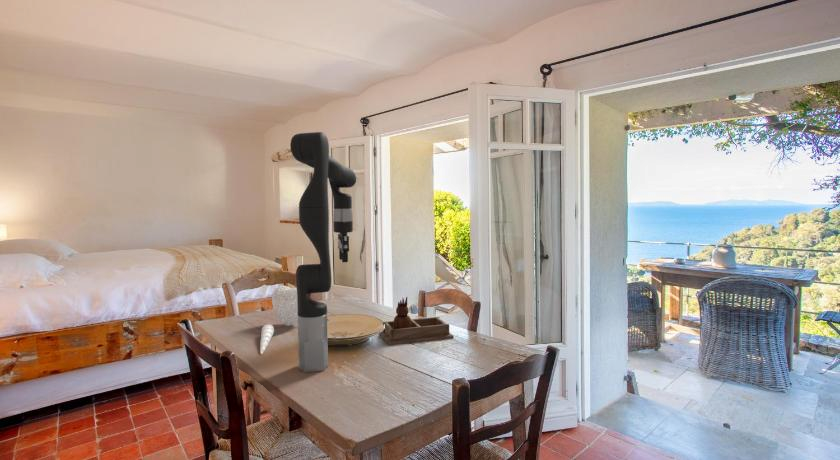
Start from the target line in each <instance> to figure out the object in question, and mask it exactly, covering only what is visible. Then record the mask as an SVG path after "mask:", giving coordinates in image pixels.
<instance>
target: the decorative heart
mask: <svg viewBox="0 0 840 460" xmlns="http://www.w3.org/2000/svg"><path fill="white" fill-rule="evenodd" d="M271 302H272V303H271V304H272V307H273V310H274V313H275V314H276V316H277V318H278V319H279V320H280V325H283V324H284V325H285V326H287V327H290V326H291V327H292V326H293V327H295V323H296V327H297V328H298V301H297V287H289V286H288V285H279V286H277V287H276V288H275V289H274V291H273V293H272V296H271Z"/></svg>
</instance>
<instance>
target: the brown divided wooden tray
mask: <svg viewBox="0 0 840 460" xmlns="http://www.w3.org/2000/svg"><path fill="white" fill-rule="evenodd" d="M410 319H411V328H401V329H394V320H388V321H383V322H382V326H383V325H384V324H385V329H384V330H383V329H382V330H383V331H382V332H381V333H380V332H379V334H380V335H381V337H382V338H383V339H384V341H385V342H386V343H387V345H388V346H394V345H406V344H412V343H413V344H414V343H422V342H433V341H440V340H441V341H442V340H450V339H449V338H451V339H454V338H455V337H454V335H453V334H452V333H451V332H450V323H447V322H445V321H444V320H442V319H441V318H440V317H439V316H434V317H424V318H410Z"/></svg>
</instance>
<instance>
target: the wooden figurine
mask: <svg viewBox="0 0 840 460" xmlns="http://www.w3.org/2000/svg"><path fill="white" fill-rule="evenodd" d="M395 310H396V311H395V312H396V315H395V317H394V319H393V321H394V329H401V328H411V319H412V318H411V317H410V315H409V307H408V296H406V297H405V299H404V297H402V299H401V300H400V301H398V302H397V307H396V309H395Z"/></svg>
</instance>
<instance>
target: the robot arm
mask: <svg viewBox="0 0 840 460" xmlns="http://www.w3.org/2000/svg"><path fill="white" fill-rule="evenodd" d="M289 146H290V152H291V155H292V157H293V158H294V159H295V160H296V161H298V162H299V163H301V164H304V165H306V166H309V167H311V168H313V172H312V173H313V174H312V177H311V179H310V181H309V182H308V185H307V186H306V188H305V190H304V191H303V193H302V195H301V196H300V199H299V202H298V217H299V218H298V220H299V221H298V223H299V225H300V227H301V230H302V231H303V232H304V234H305V235H306V237H307V238H308V239H309V240H310V242H311V244H312V245H313V247H314V248H315V250H316V253H317V255H318V258H319V263H315V264H313V263H312V264H309V263H308V264H300V265H298V266H297V268H296V270H295V284H296V285H295V287H296V288H297V294H296V295H297V297H296V298H297V299H296V300H297V302H298V327H297V350H298V353H297V355H298V356H297V357H298V359H297V360H298V369H299V371H303V373H312V372H321V371H325V369H326V368H327V367H328V366H329V358H328V357H329V352H328V351H329V350H328V342H329V341H328V307H327V304H326V303H324V302H321V301H318V300H315V299H312V298H310V297H309V296H308V295H309V294H319V293H328V292H330V290H331V287H332V268H331V258H330V257H331V256H330V244H329V242H330V237H329V235H330V232H329V230H330V228H329V227H330V210H329V190H328V188H329V187H328V183H329V185H330V188H331V193H332V197H333V214H332V215H333V217H332V218H333V221H332V222H333V226H332V229H333V233H338V234H337V248H338V251H339V253H338V255H339V256H338V258H339V260H341V262H342V263H348V262H349V252H350V236H349V235H348V233H352V232H353V231H354V230H353V229H354V226H353V225H354V223H353V210H352V209H353V207H352V205H353V203H352V202H353V200H352V199H353V198H352V195H351V194H349V193H344V192H342V190H341V188H343V189H344V188H347V189H349V188H353V186H355V184H356V183H357V175H356V173H355V171H353V169H351V168H349V167H348V166H346V165H342V164H341V163H340V162H339V161H338V160H337V159H335V158H334V157H332V156H330V145H329V140H328V137H327V135H326V133H325V132H322V131H316V132H301V133H296V134H294V135H293V136H292V137H291V139H290V145H289Z"/></svg>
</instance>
